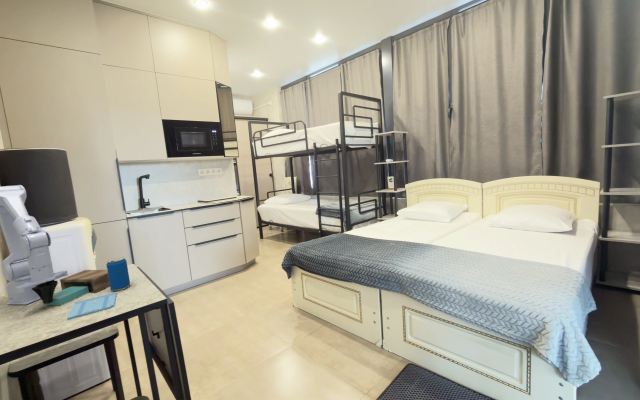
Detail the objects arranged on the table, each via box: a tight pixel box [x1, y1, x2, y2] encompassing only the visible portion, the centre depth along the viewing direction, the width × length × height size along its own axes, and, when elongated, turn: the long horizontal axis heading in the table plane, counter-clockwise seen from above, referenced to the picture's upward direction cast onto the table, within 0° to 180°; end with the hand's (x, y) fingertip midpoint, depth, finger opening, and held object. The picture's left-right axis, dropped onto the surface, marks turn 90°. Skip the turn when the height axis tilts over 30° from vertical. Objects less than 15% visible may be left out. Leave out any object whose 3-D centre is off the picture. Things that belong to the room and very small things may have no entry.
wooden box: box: [59, 269, 110, 294], centre depth 114 cm, size 16×10×6 cm, turn 81°
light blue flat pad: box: [66, 292, 117, 321], centre depth 97 cm, size 14×12×1 cm
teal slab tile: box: [42, 285, 90, 307], centre depth 105 cm, size 8×10×3 cm
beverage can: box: [105, 256, 131, 292], centre depth 110 cm, size 6×6×12 cm
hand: (48, 302), depth 99 cm, fingers closed
